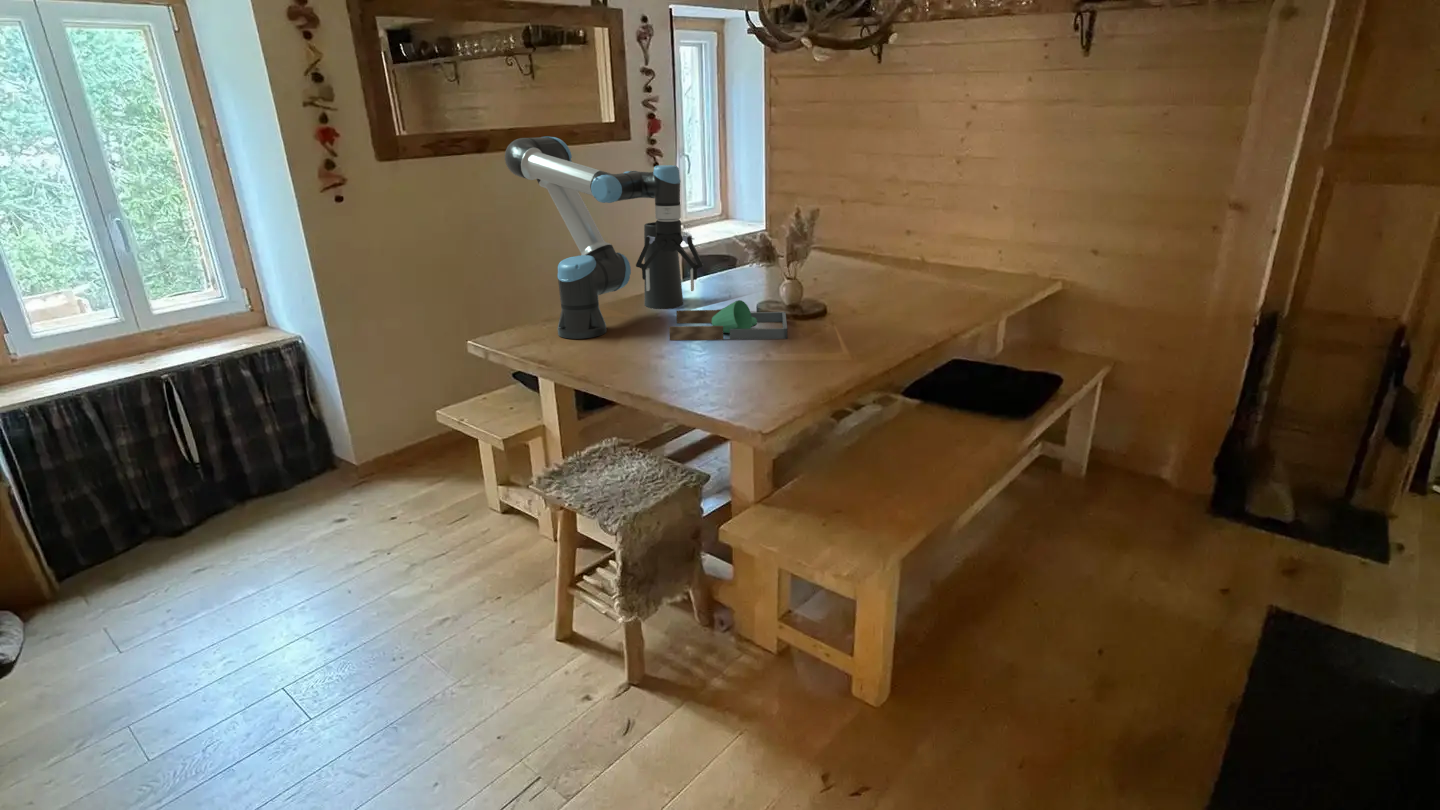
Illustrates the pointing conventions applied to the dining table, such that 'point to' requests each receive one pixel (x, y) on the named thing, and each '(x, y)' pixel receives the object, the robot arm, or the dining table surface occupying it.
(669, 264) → the vase
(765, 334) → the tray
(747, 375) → the dining table surface
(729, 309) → the mug
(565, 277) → the robot arm
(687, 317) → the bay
